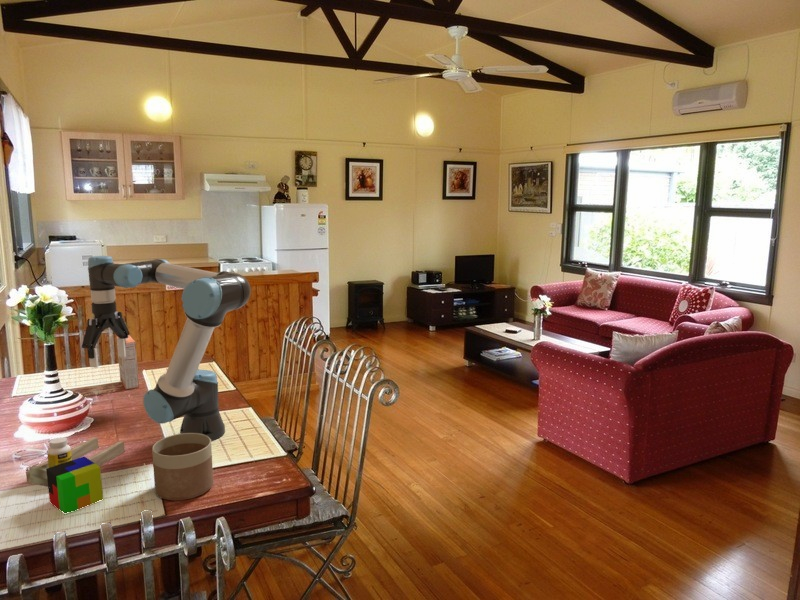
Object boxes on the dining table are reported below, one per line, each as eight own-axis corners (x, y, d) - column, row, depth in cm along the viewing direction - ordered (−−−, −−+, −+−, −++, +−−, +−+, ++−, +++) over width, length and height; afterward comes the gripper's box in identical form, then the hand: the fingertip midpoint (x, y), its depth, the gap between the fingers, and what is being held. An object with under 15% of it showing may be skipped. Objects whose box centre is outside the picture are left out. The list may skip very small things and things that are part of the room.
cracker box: (119, 381, 266) (115, 336, 262) (133, 379, 269) (130, 334, 266) (124, 390, 255) (120, 343, 251) (139, 387, 258) (136, 341, 254)
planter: (165, 476, 179) (162, 433, 176) (218, 474, 180) (216, 432, 178) (147, 503, 163) (143, 456, 161) (205, 501, 165) (203, 455, 162)
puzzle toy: (87, 488, 171) (84, 456, 169) (103, 500, 165) (100, 466, 163) (49, 502, 164) (46, 468, 162) (65, 515, 157) (61, 480, 155)
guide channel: (124, 451, 195) (123, 437, 194) (59, 488, 171) (58, 472, 170) (94, 446, 199) (93, 432, 198) (27, 482, 174) (25, 467, 173)
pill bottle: (60, 480, 175) (57, 445, 173) (44, 477, 177) (41, 442, 175) (77, 471, 181) (74, 437, 179) (62, 469, 183) (58, 435, 181)
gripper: (119, 294, 214) (123, 351, 218) (65, 307, 190) (71, 371, 194) (137, 295, 213) (141, 353, 216) (85, 309, 189) (91, 373, 193)
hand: (108, 361), depth 205 cm, fingers open, 13 cm apart
